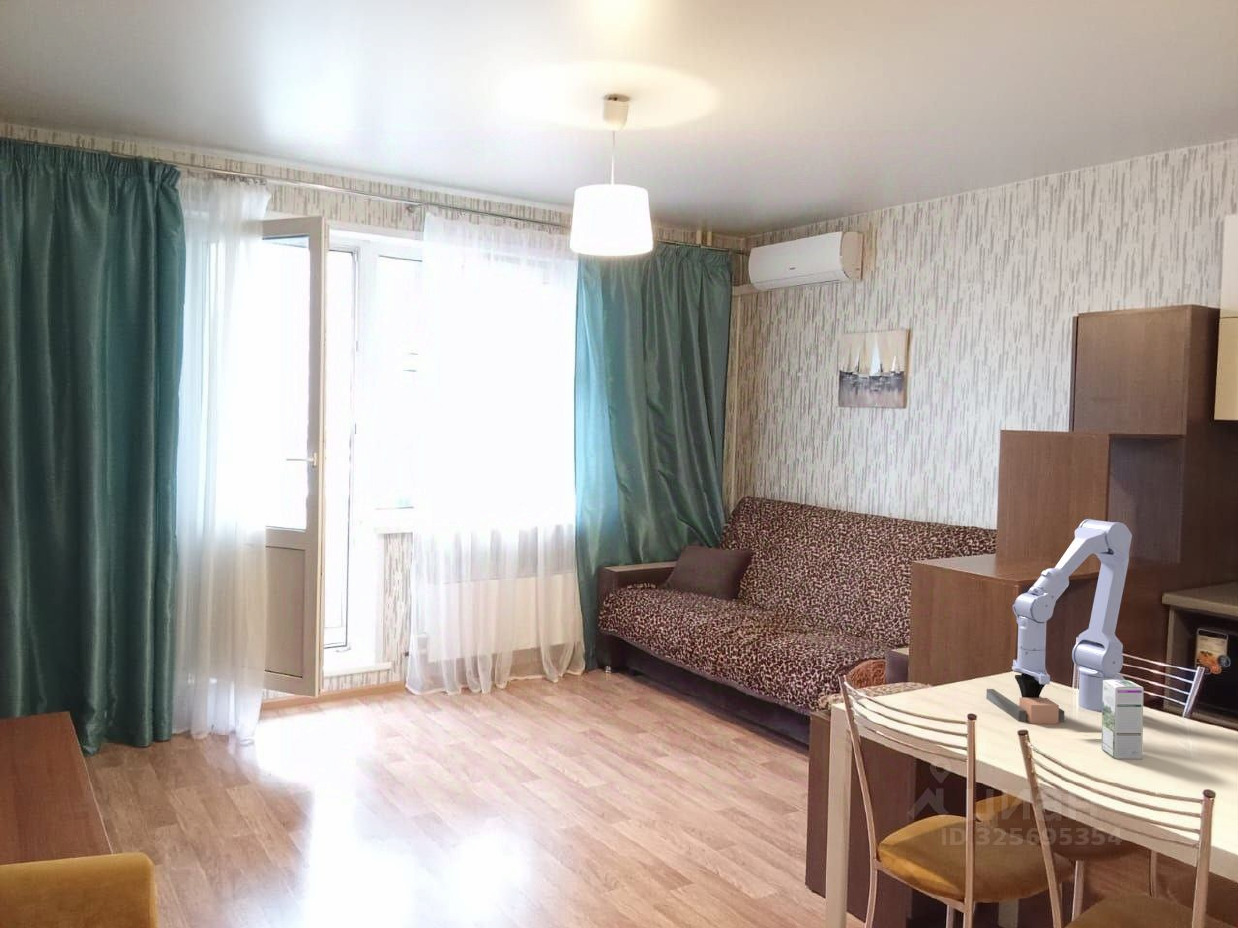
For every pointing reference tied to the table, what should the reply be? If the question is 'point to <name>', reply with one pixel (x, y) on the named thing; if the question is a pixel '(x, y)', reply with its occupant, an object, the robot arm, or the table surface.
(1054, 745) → the table surface
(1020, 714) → the grey parallel rails
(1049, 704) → the terracotta block
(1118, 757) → the syrup box
